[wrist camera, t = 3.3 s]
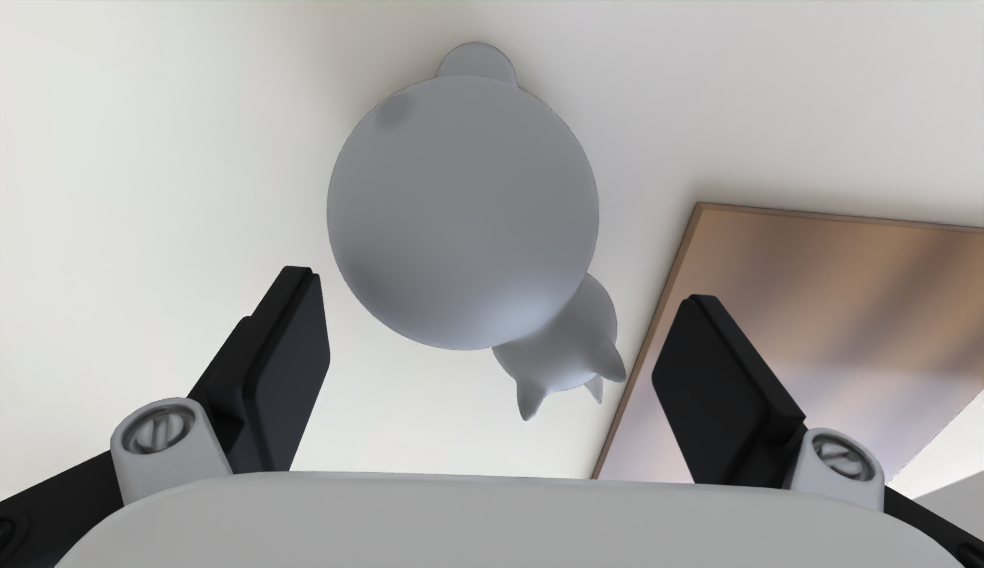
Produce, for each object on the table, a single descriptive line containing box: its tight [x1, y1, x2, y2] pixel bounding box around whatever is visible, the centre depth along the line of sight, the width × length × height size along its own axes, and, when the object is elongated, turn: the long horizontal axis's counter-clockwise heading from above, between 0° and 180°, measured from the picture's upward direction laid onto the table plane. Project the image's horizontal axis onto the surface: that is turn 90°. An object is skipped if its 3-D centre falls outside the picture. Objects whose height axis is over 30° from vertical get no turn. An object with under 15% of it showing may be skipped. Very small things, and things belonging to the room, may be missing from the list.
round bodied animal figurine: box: [327, 42, 627, 421], centre depth 14 cm, size 7×12×8 cm, turn 32°
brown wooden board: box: [592, 203, 984, 485], centre depth 24 cm, size 18×20×1 cm
